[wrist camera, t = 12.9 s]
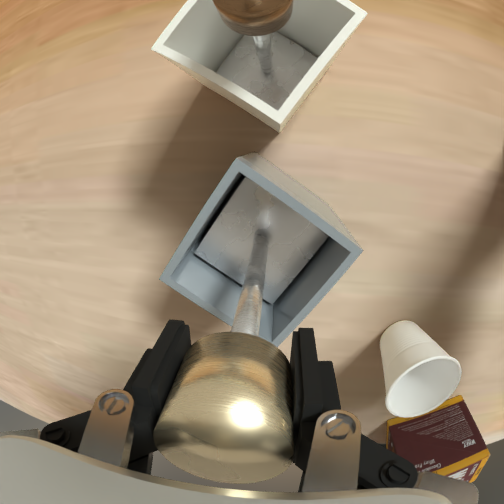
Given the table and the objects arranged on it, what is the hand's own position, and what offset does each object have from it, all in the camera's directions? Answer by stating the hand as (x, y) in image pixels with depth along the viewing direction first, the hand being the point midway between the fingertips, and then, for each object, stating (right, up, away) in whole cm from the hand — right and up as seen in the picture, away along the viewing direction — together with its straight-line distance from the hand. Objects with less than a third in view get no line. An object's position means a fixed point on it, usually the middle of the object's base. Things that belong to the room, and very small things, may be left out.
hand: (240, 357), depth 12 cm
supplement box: (+33, -28, +34) cm, 55 cm away
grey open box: (+2, +8, +23) cm, 24 cm away
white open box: (+2, +23, +17) cm, 29 cm away
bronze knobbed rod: (+2, +23, +16) cm, 28 cm away
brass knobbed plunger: (+1, +5, +14) cm, 15 cm away
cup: (+21, -8, +27) cm, 35 cm away
